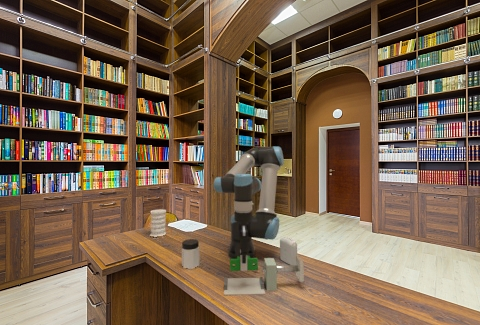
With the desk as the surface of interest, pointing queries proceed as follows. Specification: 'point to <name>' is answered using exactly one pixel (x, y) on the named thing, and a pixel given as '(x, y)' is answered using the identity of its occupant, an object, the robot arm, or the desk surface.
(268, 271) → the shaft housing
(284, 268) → the shaft
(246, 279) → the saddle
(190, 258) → the jar
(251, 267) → the pipe clamp
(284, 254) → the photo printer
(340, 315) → the desk surface
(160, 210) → the decorative container
